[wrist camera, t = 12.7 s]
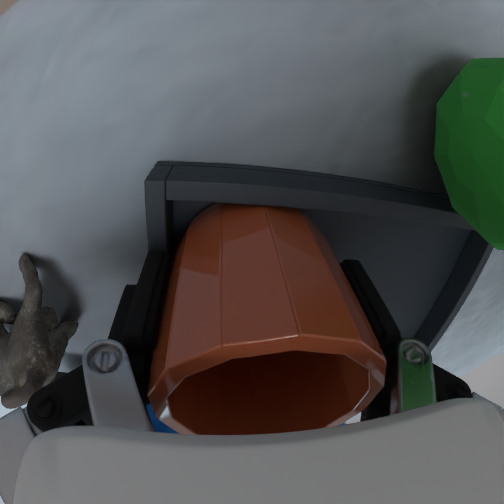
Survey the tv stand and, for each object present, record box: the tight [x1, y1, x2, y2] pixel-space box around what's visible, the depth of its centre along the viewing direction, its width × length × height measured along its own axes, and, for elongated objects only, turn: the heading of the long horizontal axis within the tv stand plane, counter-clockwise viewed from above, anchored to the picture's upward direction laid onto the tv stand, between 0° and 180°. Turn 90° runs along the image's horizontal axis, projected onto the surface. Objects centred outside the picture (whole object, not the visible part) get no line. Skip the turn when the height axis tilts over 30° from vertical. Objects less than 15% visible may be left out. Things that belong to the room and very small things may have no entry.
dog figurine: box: [0, 255, 78, 409], centre depth 11 cm, size 12×6×7 cm, turn 113°
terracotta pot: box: [147, 203, 386, 435], centre depth 10 cm, size 6×6×6 cm
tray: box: [144, 161, 494, 352], centre depth 14 cm, size 16×12×2 cm
